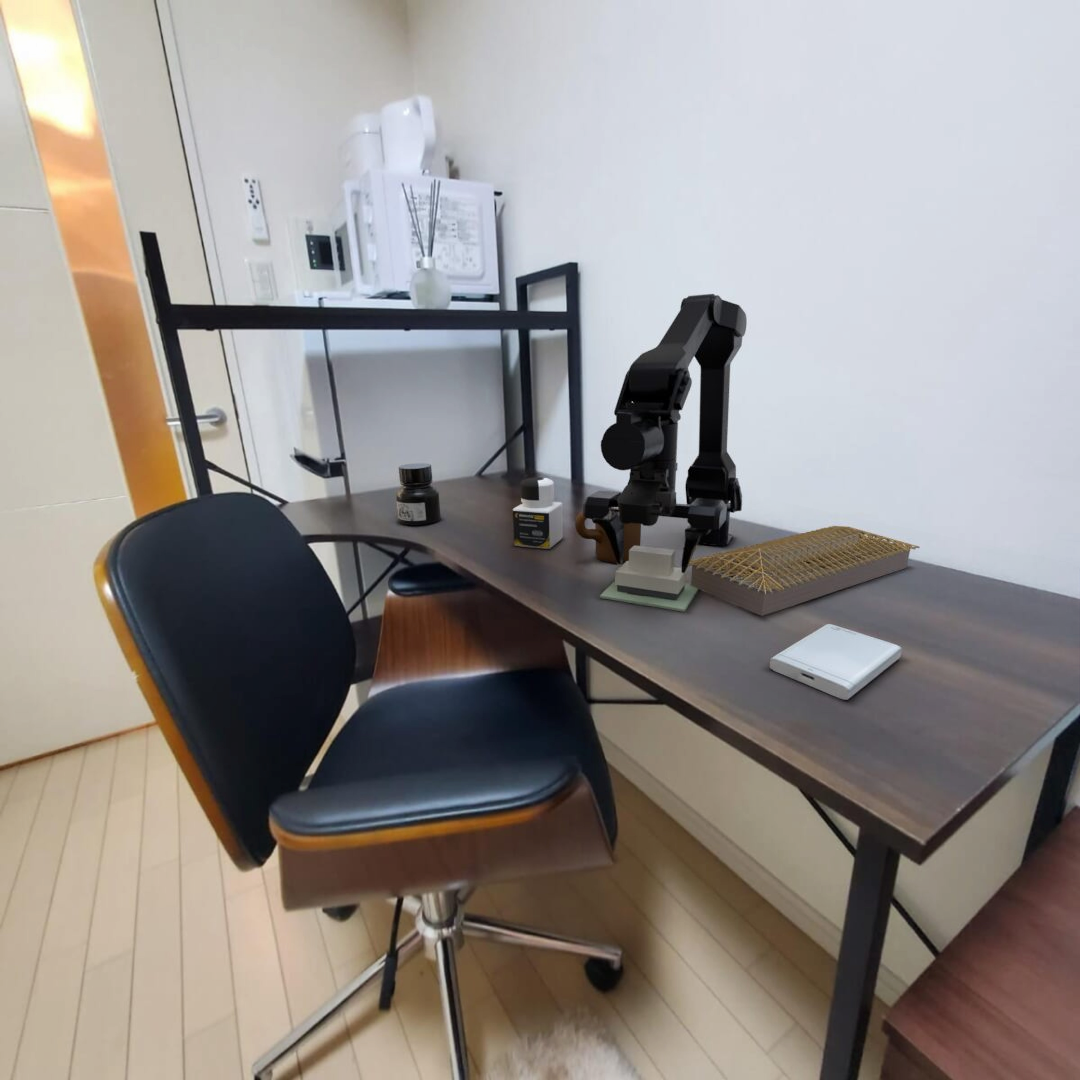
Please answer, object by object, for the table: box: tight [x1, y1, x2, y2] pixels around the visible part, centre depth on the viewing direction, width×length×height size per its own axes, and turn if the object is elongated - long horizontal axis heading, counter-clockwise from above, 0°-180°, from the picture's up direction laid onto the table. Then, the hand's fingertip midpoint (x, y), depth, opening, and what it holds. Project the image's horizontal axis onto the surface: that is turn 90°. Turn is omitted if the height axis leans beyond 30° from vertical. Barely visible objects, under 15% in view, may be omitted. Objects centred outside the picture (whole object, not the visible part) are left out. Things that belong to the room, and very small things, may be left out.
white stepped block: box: [614, 545, 688, 600], centre depth 81 cm, size 5×9×6 cm, turn 63°
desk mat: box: [599, 580, 700, 613], centre depth 82 cm, size 9×12×1 cm
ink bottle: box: [395, 462, 442, 526], centre depth 122 cm, size 10×9×12 cm
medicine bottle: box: [512, 476, 564, 550], centre depth 105 cm, size 7×7×12 cm
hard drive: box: [769, 623, 902, 701], centre depth 62 cm, size 2×8×12 cm
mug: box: [574, 510, 642, 564], centre depth 96 cm, size 12×8×9 cm, turn 117°
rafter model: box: [688, 525, 920, 617], centre depth 86 cm, size 35×14×6 cm, turn 120°
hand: (651, 567), depth 81 cm, fingers open, 9 cm apart
